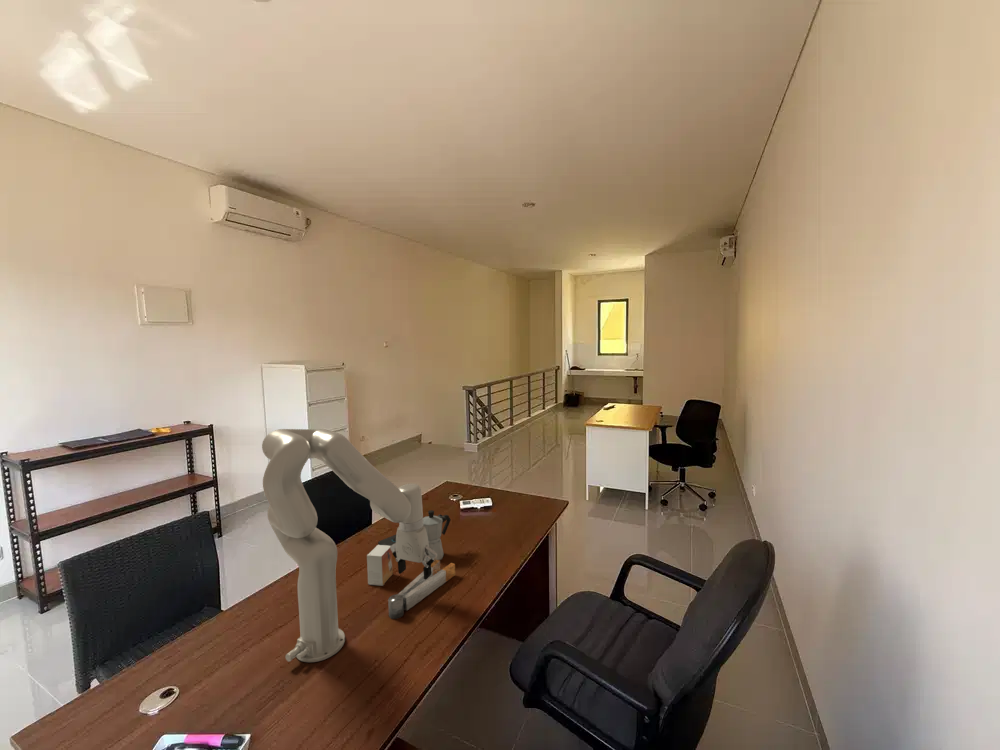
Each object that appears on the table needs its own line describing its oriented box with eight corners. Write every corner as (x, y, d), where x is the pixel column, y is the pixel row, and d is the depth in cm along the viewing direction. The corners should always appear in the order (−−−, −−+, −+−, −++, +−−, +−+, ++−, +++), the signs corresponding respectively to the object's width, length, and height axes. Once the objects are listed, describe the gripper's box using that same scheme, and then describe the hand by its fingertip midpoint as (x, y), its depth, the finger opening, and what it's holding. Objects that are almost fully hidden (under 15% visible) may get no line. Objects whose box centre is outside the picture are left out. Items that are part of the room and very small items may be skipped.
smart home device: (377, 541, 176) (417, 525, 191) (377, 545, 176) (417, 529, 191) (388, 547, 171) (429, 530, 185) (388, 552, 171) (429, 534, 185)
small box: (382, 586, 146) (381, 556, 145) (367, 584, 147) (366, 555, 146) (393, 573, 154) (392, 545, 153) (378, 572, 155) (377, 544, 154)
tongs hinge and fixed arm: (397, 620, 128) (397, 604, 128) (385, 617, 130) (385, 601, 129) (446, 572, 154) (445, 559, 154) (435, 570, 156) (435, 556, 155)
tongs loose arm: (406, 610, 132) (406, 598, 132) (403, 609, 133) (402, 596, 133) (455, 575, 152) (454, 563, 151) (451, 573, 153) (451, 562, 152)
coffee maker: (424, 567, 158) (422, 519, 156) (412, 558, 165) (410, 512, 163) (457, 553, 168) (456, 508, 166) (444, 545, 174) (443, 502, 173)
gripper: (381, 524, 137) (385, 575, 139) (428, 532, 130) (431, 586, 132) (396, 515, 144) (399, 563, 146) (441, 522, 137) (444, 573, 139)
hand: (414, 574), depth 139 cm, fingers open, 9 cm apart
